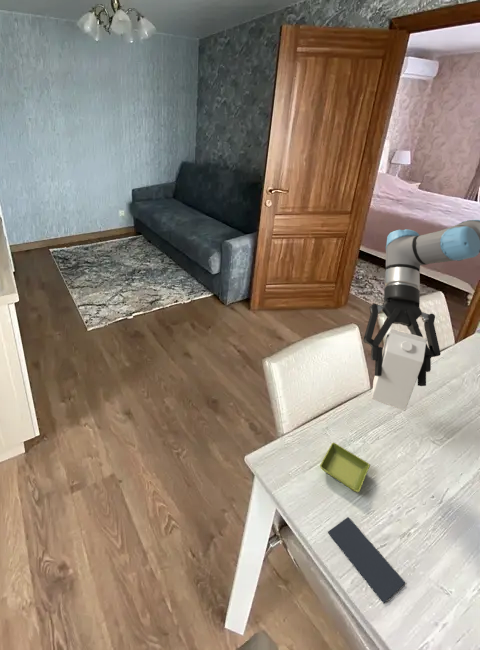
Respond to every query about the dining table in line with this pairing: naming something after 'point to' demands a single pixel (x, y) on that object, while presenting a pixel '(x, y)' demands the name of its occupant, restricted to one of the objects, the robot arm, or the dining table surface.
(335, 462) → the green rectangular tray
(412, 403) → the dining table surface
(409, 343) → the milk carton
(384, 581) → the edge strip
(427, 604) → the dining table surface
